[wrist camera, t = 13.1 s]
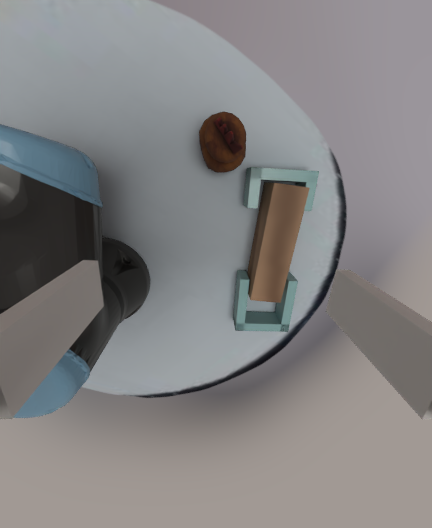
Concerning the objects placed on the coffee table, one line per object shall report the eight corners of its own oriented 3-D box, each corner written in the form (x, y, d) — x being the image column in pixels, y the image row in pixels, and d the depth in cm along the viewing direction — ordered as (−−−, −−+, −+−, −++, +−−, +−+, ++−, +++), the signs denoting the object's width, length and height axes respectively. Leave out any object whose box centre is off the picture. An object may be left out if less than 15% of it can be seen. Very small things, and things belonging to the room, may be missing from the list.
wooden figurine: (244, 167, 36) (268, 159, 21) (208, 177, 36) (208, 176, 22) (234, 118, 33) (254, 73, 19) (195, 129, 34) (187, 93, 19)
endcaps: (233, 317, 45) (235, 330, 41) (246, 168, 36) (251, 167, 32) (281, 318, 45) (288, 331, 42) (307, 172, 36) (318, 171, 32)
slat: (244, 284, 43) (250, 299, 37) (263, 182, 37) (274, 182, 31) (270, 286, 43) (280, 302, 38) (294, 186, 37) (309, 187, 31)
